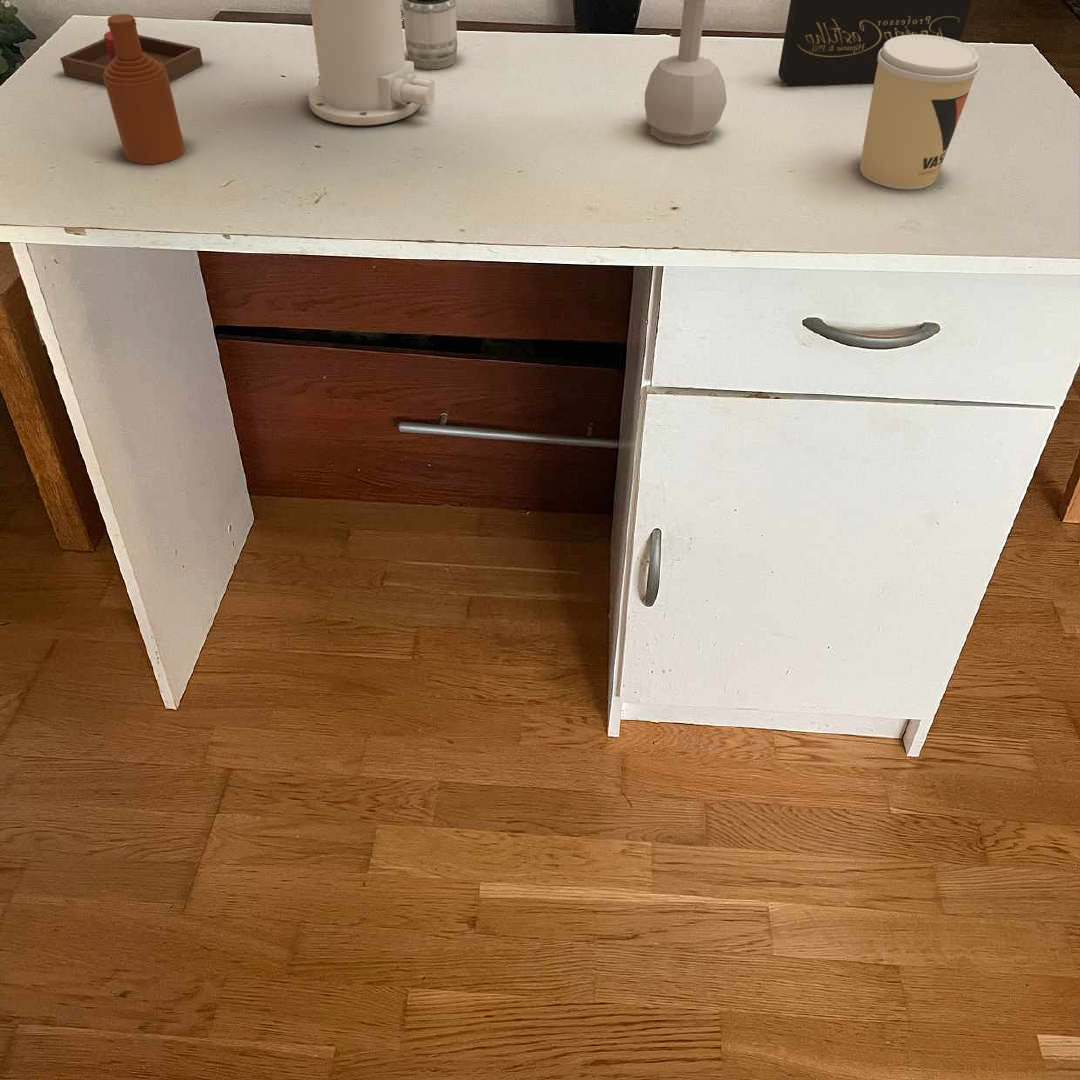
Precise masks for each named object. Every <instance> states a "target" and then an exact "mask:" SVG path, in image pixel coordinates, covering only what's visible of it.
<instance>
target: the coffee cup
mask: <svg viewBox="0 0 1080 1080" xmlns="http://www.w3.org/2000/svg"><path fill="white" fill-rule="evenodd" d="M877 60H878V66H877V71H876V76H875V81H874V83H873V86H872V94H871V99H870V104H869V110H868V115H867V120H866V121H867V122H866V127H865V133H864V140H863V144H862V145H863V146H862V151H861V156H860V157H861V158H860V164H859V170H860V173H861V174H862V176H863V177H864V178H865V179H867V180H868V181H870V182H872V183H874V184H876V185H879V186H882V187H885V188H890V189H896V190H906V191H907V190H910V191H911V190H920V189H925V188H927V187H930V186H931V185H933V183H935V181H936V180H937V178H938V175H939V172H940V170H941V169H942V165H943V162H944V160H945V157H946V155H947V152H948V149H949V147H950V144H951V142H952V139H953V136H954V134H955V131H956V129H957V126H958V123H959V120H960V118H961V115H962V112H963V110H964V107H965V104H966V102H967V99H968V96H969V93H970V92H971V91H970V90H971V87H972V85H973V82H974V79H975V76H977V74H978V73H979V70H980V65H981V64H980V56H979V53H978V51H977V50H976V49H975V48H974V47H972V46H971V45H968V44H967V43H964V42H962V41H961V40H960V41H957V40H953V39H949V38H945V37H940V36H933V35H903V36H898V37H894V38H891V39H890V40H888V41H887V42H886V43H885V44H884V45H883V48H881V49H880V51H879V53H878V59H877Z"/></svg>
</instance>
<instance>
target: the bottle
mask: <svg viewBox="0 0 1080 1080" xmlns="http://www.w3.org/2000/svg"><path fill="white" fill-rule="evenodd" d="M107 27H108V28H109V31H110V32H111V35H112V39H113V43H114V46H115V50H116V54H117V55H116V56H115V57H114V59H112V60H111V62H110V63H109V64H108V66H107V67H106V68H105V69H104V74H103V79H104V82H105V84H104V85H105V86H104V87H105V89H106V92H107V96H108V99H109V104H110V107H111V110H112V114H113V117H114V121H115V124H116V128H117V131H118V135H119V138H120V139H119V140H120V142H121V146H122V149H123V153H124V156H125V158H126V159H127V160H128V161H130V162H132V163H134V164H139V165H159V164H165V163H167V162H171V161H174V160H176V159H178V158H180V157H181V156H182V155H183V154H184V153H185V150H186V147H185V143H184V138H183V135H182V130H181V126H180V122H179V118H178V112H177V109H176V105H175V101H174V97H173V92H172V88H171V84H170V82H169V79H168V75H167V71H166V68H165V67H164V66H163V65H162V63H161V62H159V61H157V60H156V59H154V58H152V57H151V56H149V55H147V54H146V53H144V52H142V48H141V44H140V40H139V36H138V35H139V32H138V30H137V29H138V28H137V22H136V18H135V17H134V16H133V15H132V14H127V13H120V14H113V15H111V16H109V17H108V18H107Z"/></svg>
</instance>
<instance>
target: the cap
mask: <svg viewBox="0 0 1080 1080" xmlns="http://www.w3.org/2000/svg"><path fill="white" fill-rule="evenodd" d="M103 39H105V42H106V46H107V50H108V53H109V57H110V61H111V60H112V59H114V57H115V56H116V55H117V54H116V50H115V46H114V43H113V39H112V35H111V32H110V30H109V31H107V32H105V33H104V35H103Z"/></svg>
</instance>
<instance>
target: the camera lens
mask: <svg viewBox="0 0 1080 1080" xmlns="http://www.w3.org/2000/svg"><path fill="white" fill-rule="evenodd" d="M401 3H402V15H403V17H402V18H403V28H404V39H405V47H406V52H407V56H408V59H409V60H408V61H411V62H414V68H417V69H422V70H441V69H446V68H449V67H451V66H453V65H454V64H455V62H456V59H457V53H458V29H457V28H458V27H457V26H458V25H457V8H456V7H457V6H456V5H457V4H456V0H402V1H401Z"/></svg>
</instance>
